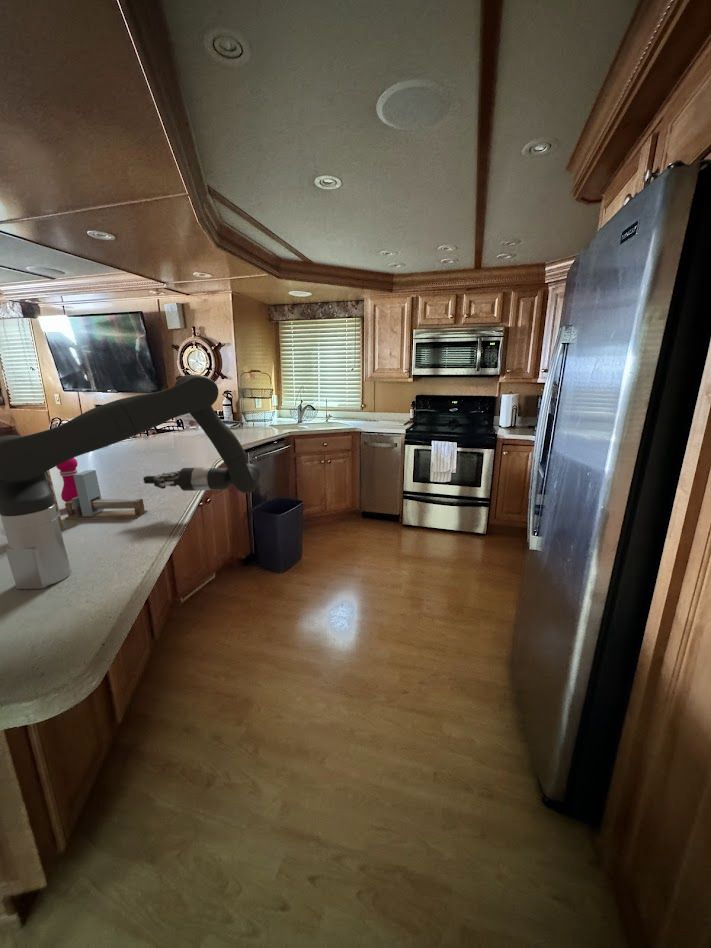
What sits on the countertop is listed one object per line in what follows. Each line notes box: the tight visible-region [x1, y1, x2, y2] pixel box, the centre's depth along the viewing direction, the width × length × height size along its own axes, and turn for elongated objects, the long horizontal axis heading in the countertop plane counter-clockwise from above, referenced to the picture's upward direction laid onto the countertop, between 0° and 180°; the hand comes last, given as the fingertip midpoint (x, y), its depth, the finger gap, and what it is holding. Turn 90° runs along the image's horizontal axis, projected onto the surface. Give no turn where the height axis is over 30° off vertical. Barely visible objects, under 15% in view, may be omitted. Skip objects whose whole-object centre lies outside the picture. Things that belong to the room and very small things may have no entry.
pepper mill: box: [55, 457, 79, 510], centre depth 132 cm, size 7×7×20 cm
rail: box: [64, 496, 148, 520], centre depth 125 cm, size 6×24×7 cm, turn 90°
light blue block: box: [73, 469, 105, 516], centre depth 124 cm, size 6×3×14 cm, turn 179°
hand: (144, 479), depth 122 cm, fingers closed
